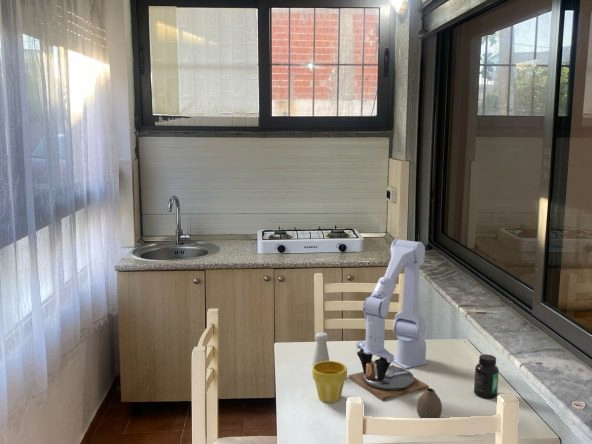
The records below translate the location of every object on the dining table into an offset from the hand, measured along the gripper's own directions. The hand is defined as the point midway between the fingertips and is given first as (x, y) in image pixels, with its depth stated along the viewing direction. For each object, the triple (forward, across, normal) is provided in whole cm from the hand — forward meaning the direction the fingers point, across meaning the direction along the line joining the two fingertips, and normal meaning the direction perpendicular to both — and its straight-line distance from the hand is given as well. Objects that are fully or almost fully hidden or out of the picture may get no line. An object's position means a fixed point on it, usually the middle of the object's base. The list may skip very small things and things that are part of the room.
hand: (373, 376), depth 186 cm
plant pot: (+4, -3, -16) cm, 16 cm away
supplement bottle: (+4, +23, +25) cm, 34 cm away
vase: (+4, +23, -1) cm, 24 cm away
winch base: (+4, 0, +6) cm, 7 cm away
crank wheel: (+2, 0, +6) cm, 7 cm away
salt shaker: (+4, -20, -5) cm, 21 cm away
